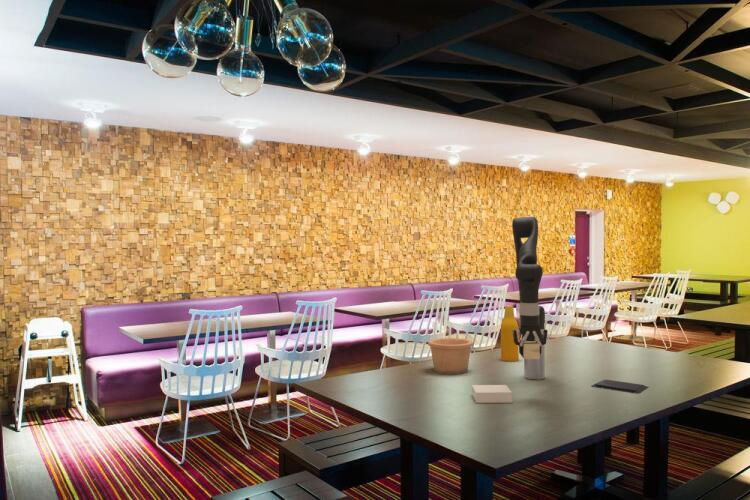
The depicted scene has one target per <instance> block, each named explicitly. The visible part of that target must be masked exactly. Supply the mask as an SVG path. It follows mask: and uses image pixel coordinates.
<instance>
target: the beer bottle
mask: <svg viewBox="0 0 750 500" xmlns="http://www.w3.org/2000/svg"><path fill="white" fill-rule="evenodd" d="M514 310H515V309H514V305H505V306H504V313H503V319H502V321H501V323H500V358H501V361H503V362H510V361H511V362H517V361H519V355H520V353H519V345H516V344H515V343H514V339H513V333H512V330H513V329H514V330H517V329H519V325H518V322H517V320H516V317H515V313H514V312H515V311H514ZM517 338H518V339H519V334H518V335H517Z"/></svg>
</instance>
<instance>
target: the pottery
mask: <svg viewBox="0 0 750 500" xmlns="http://www.w3.org/2000/svg"><path fill="white" fill-rule="evenodd" d="M427 345H428V346H429V347H430V353H431V358H432V359H431V360H432V365H433V371H434V372H435V373H439V374H443V375H462V374H466V373H468V370H469V362H470V356H471V355H470V354H471V347H473V346H474V343H473V341H472V340H470V339H466V338H458V337H457V338H456V337H455V338H453V337H447V338H446V337H443V338H434V339H431V340H428V343H427Z"/></svg>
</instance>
